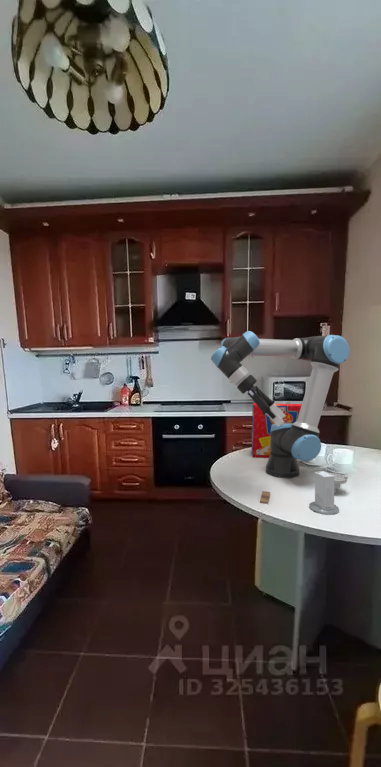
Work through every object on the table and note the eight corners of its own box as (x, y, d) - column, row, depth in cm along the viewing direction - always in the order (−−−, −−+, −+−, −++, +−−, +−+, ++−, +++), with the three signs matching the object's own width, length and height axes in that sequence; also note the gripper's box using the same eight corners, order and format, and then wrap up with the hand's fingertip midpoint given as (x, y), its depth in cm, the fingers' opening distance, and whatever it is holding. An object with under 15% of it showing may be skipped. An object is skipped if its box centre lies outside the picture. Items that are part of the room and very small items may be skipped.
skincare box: (334, 509, 129) (336, 476, 128) (323, 510, 128) (324, 477, 127) (324, 502, 135) (325, 470, 134) (313, 503, 134) (314, 471, 133)
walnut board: (262, 493, 146) (262, 491, 146) (270, 493, 145) (270, 491, 145) (259, 502, 136) (259, 500, 136) (267, 503, 135) (268, 501, 135)
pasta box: (252, 457, 195) (253, 405, 192) (251, 453, 203) (252, 403, 200) (306, 459, 192) (308, 406, 190) (303, 455, 200) (305, 404, 198)
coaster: (308, 501, 138) (308, 499, 138) (337, 504, 135) (337, 503, 135) (309, 512, 128) (309, 510, 128) (340, 516, 125) (340, 514, 125)
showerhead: (344, 480, 140) (318, 474, 146) (343, 498, 141) (317, 492, 147) (351, 474, 147) (326, 468, 154) (350, 491, 148) (325, 485, 154)
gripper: (241, 384, 155) (276, 421, 152) (230, 390, 131) (272, 434, 128) (254, 371, 153) (290, 409, 150) (245, 375, 129) (288, 420, 126)
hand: (282, 421), depth 139 cm, fingers open, 13 cm apart
